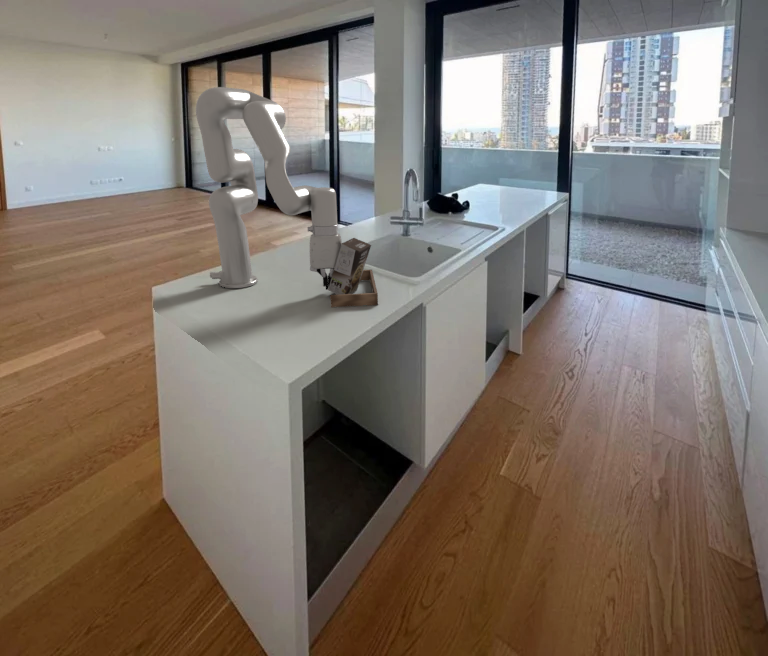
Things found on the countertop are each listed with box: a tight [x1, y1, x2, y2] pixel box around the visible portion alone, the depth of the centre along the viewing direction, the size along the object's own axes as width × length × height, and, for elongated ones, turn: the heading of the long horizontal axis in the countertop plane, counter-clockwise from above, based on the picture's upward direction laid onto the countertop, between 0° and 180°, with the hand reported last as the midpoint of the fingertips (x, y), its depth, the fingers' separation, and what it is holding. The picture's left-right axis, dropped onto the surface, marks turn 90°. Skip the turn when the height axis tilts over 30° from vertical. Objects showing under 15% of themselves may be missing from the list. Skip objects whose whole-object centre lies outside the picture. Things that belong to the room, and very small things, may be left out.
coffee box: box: [327, 237, 372, 295], centre depth 153 cm, size 9×6×16 cm
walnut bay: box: [329, 269, 379, 308], centre depth 157 cm, size 14×26×4 cm, turn 5°
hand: (328, 288), depth 157 cm, fingers closed
